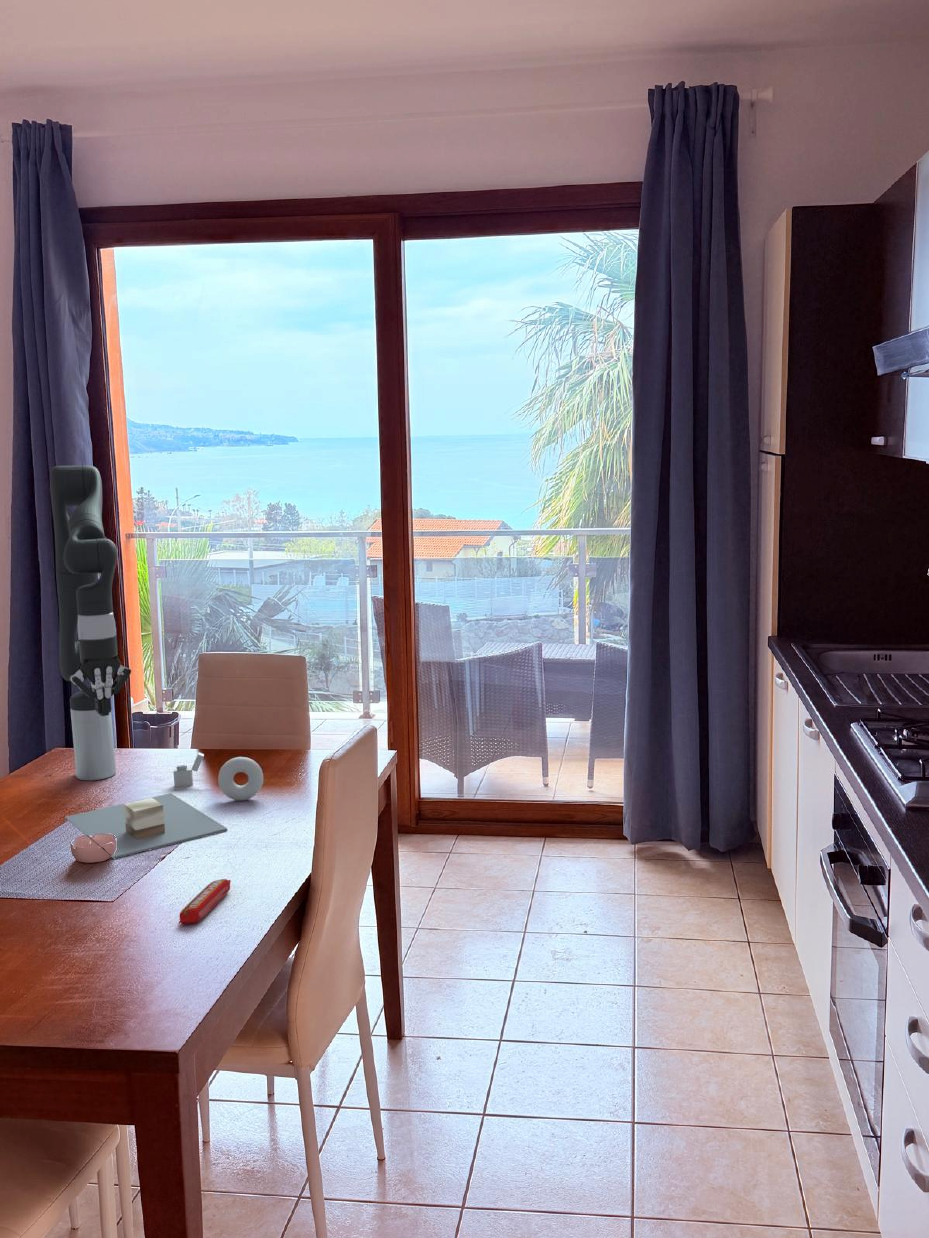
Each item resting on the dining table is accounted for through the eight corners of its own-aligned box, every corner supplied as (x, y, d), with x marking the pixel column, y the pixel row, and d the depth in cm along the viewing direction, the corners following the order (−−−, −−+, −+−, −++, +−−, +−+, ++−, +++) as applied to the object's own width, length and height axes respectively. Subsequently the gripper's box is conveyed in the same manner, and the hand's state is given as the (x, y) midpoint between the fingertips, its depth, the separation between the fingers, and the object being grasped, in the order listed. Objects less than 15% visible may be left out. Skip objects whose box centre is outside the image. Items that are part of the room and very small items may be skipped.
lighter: (174, 789, 257) (172, 755, 255) (175, 786, 258) (172, 753, 257) (205, 786, 258) (203, 753, 257) (206, 784, 260) (204, 751, 258)
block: (134, 811, 222) (136, 839, 223) (163, 804, 226) (165, 832, 227) (123, 803, 227) (126, 831, 228) (152, 797, 230) (154, 825, 231)
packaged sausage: (215, 889, 200) (213, 873, 199) (234, 890, 199) (233, 875, 198) (175, 928, 184) (174, 911, 183) (196, 930, 183) (194, 913, 183)
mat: (64, 818, 238) (64, 816, 238) (170, 795, 252) (170, 793, 252) (113, 859, 214) (112, 856, 214) (227, 830, 229) (227, 828, 228)
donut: (265, 796, 250) (262, 753, 248) (264, 801, 247) (261, 757, 245) (220, 799, 249) (217, 756, 247) (218, 804, 245) (215, 760, 244)
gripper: (122, 628, 237) (128, 706, 240) (59, 636, 230) (66, 717, 233) (134, 632, 232) (140, 713, 234) (71, 641, 224) (78, 724, 227)
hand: (103, 715), depth 233 cm, fingers closed
